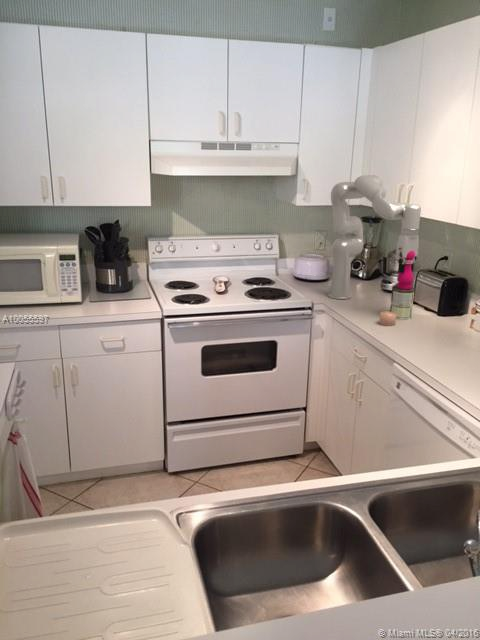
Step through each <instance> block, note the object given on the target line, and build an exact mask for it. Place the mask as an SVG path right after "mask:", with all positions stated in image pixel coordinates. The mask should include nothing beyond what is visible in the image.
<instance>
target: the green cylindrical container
mask: <svg viewBox="0 0 480 640" xmlns="http://www.w3.org/2000/svg"><path fill="white" fill-rule="evenodd" d="M415 290H416V288H414V287H413V286H412V288H411V289H410V290H403V289H399V288H398V285H394V286H392V287H391V297H390V308H389V311H390V312H394V313H396V320H401V321H403V320H410V319H412V314H413V305H414V297H415V296H414V295H415Z"/></svg>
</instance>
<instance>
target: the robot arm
mask: <svg viewBox="0 0 480 640" xmlns="http://www.w3.org/2000/svg"><path fill="white" fill-rule="evenodd" d="M386 195H387V190H386V189H385V188H384V187H383V180H382V178H381V177H380V176H378V175H375V174H374V175H373V174H371V175H370V174H369V175H367V174H366V175H364V174H363V175H360V176H358V177H357V178H355V180H354V181H342V182H338V183H336V184H335V185H333V187H332V189H331V192H330V202H331V207H332V219H333V220H332V221H333V231H334V233H335V234H336V235H338V236H348V237H339V238H337V239H335V240H334V241H333V242H332V245H331V250H332V251H331V252H332V272H331V273H332V274H331V285H329V286H328V287H327V288H326V289H327V290H328V291H329V292H328V293H327V297H328V298H331V299H336V300H348V299H351V298H352V293H349V292H350V283H351V281H350V280H351V279H350V278H351V269H352V268H351V267H352V265H351V260H350V258H349V256H355V255H359V254H361V253H362V251H363V250H364V227H363V226H364V225H363V222H362V220H361V219H360V217H358V216H354V215H352V216H351V214H350V213H351V212H350V206H349V204H348V202H347V201H346V200H353V199H354V200H355V199H356V200H357V199H358V200H359V199H362V198H365V199H367V200H368V201H370V202H371V206H372V208H373V211H374V212H375V213H376V214H377V215H379V216H380V217H381V218H382V219H385V220H387V221H392V220H393V221H394V220H395V221H397V220H401V231H400V235H399V237H398V240H397V245H396V249H395V256H394V258H395V260H396V261H397V263H398V269H397V271H398V273H400V272H401V273H404V270H405V264H404V262H405V259H406V257H407V254H408V253H409V252H410V251H414V252H415V257H414V258H413V263H412V266H411V271H412V272H413V271H414V266H415V265H414V264H415V263H416V260H417V259H418V257H419V256H420V253H419V246H420V245H419V243H420V242H419V241H420V240H419V231H420V230H419V229H420V221H421V211H422V207H421V206H420V205H419V204H410V203H407V202H391V203H390V202H389V201H388V200H386V199H385V197H386ZM402 259H403V260H402Z"/></svg>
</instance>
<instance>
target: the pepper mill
mask: <svg viewBox="0 0 480 640" xmlns="http://www.w3.org/2000/svg"><path fill="white" fill-rule="evenodd" d="M414 257H415V252H414V251H410V252H409V253H408V254H407V257H406V259H405V262H404V264H405V270H404V273H401V272H398V275H397V279H396V280H397V282H398V284H397V286H398V288H399V289H403V290H410V289H411V288H412V287H413V285H412V283H414V274H413V271H411V266H412V263H413V258H414ZM402 260H403V258H402Z"/></svg>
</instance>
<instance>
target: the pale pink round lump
mask: <svg viewBox="0 0 480 640" xmlns="http://www.w3.org/2000/svg"><path fill="white" fill-rule="evenodd" d="M379 313H380V314H379V325H381V326H384V327H394V326H395V325H396V321H397V319H396V313H394V312H390V310H387V311H386V310H383V311H381V312H379Z"/></svg>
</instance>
